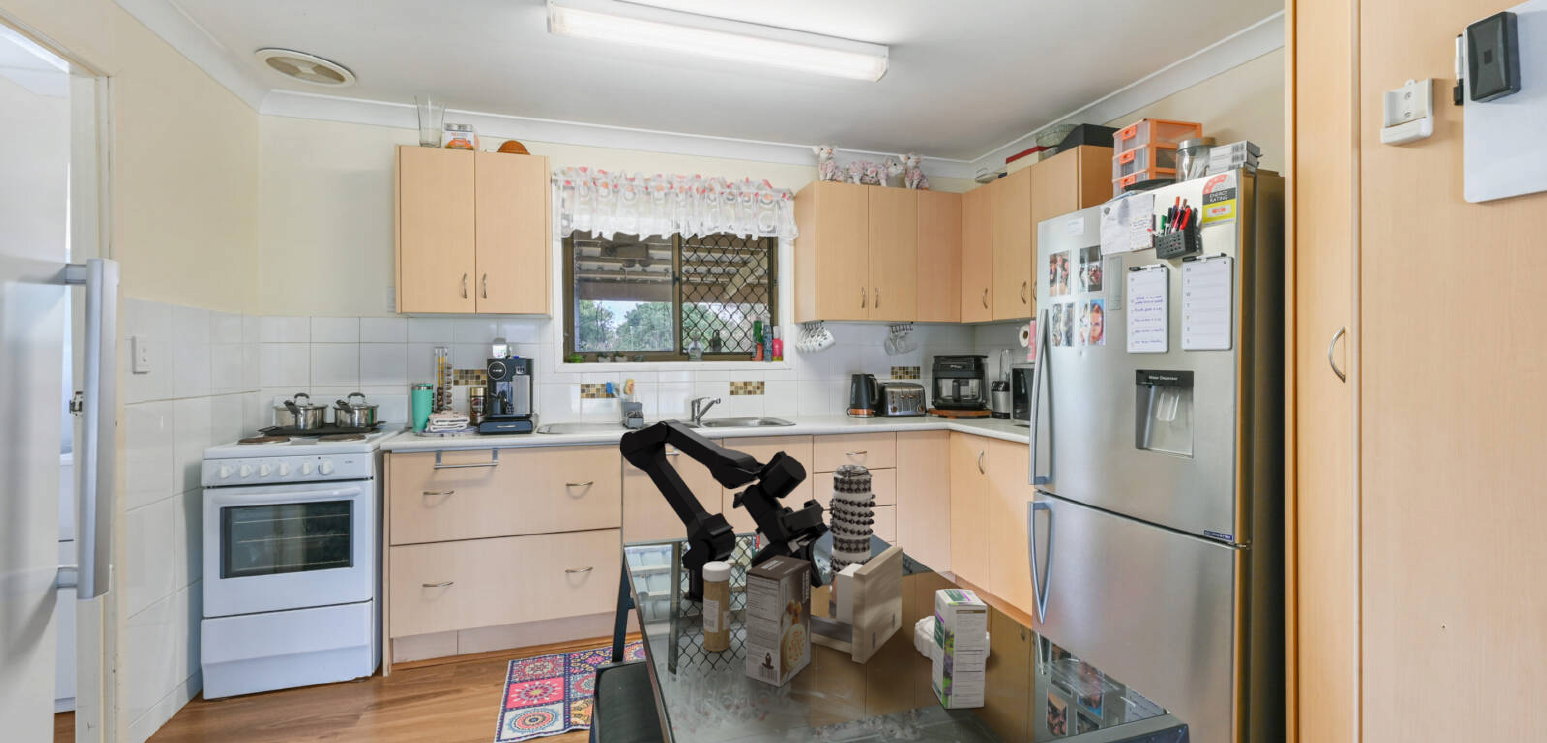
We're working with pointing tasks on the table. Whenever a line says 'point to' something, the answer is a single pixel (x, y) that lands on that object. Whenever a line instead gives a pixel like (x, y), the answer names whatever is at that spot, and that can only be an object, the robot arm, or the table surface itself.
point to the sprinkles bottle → (716, 606)
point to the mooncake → (932, 637)
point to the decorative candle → (850, 518)
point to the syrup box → (959, 648)
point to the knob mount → (866, 609)
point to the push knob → (844, 593)
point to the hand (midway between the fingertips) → (819, 586)
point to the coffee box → (778, 619)
